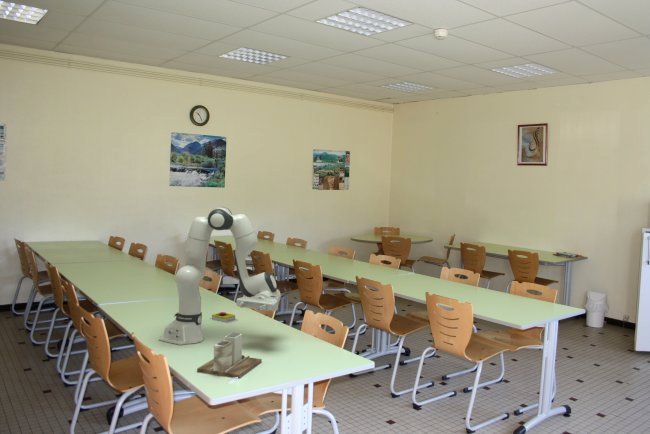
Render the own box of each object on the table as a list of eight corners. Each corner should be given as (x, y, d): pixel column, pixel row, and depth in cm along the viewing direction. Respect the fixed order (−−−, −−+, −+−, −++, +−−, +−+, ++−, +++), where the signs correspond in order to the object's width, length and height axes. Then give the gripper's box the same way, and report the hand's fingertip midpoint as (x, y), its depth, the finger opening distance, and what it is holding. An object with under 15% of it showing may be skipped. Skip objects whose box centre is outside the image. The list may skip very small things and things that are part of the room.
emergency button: (220, 309, 326) (239, 313, 318) (220, 316, 326) (238, 320, 318) (209, 312, 318) (228, 316, 310) (209, 319, 318) (228, 324, 310)
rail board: (197, 371, 230) (197, 342, 229) (222, 356, 251) (222, 329, 250) (239, 378, 224) (240, 348, 223) (261, 362, 244) (262, 334, 244)
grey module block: (224, 363, 237) (224, 336, 236) (231, 358, 243) (232, 332, 243) (234, 365, 235) (234, 337, 235) (241, 360, 242) (242, 333, 241)
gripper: (243, 292, 270) (230, 297, 257) (281, 297, 264) (270, 303, 251) (243, 305, 271) (230, 310, 257) (280, 310, 264) (269, 316, 251)
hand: (250, 307), depth 254 cm, fingers open, 8 cm apart
